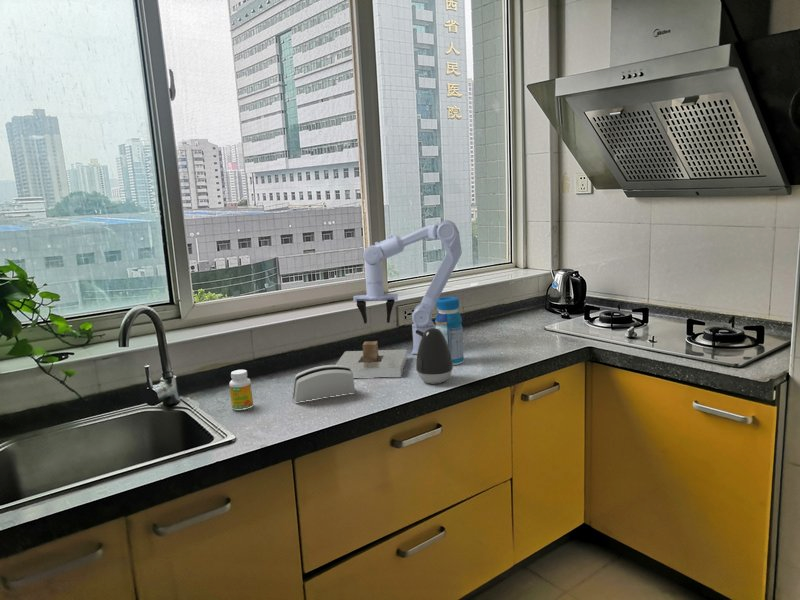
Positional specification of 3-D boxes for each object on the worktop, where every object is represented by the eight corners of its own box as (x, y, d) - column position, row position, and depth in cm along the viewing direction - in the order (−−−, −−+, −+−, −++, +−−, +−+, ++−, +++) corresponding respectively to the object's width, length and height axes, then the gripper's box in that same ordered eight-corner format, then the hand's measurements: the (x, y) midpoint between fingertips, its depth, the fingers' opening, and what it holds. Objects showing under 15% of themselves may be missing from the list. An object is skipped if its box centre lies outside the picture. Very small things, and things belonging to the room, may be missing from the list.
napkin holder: (351, 388, 166) (352, 358, 161) (356, 398, 162) (357, 368, 157) (291, 398, 161) (289, 367, 156) (294, 409, 157) (293, 378, 152)
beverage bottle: (463, 366, 180) (460, 300, 176) (435, 366, 182) (431, 301, 178) (465, 358, 188) (462, 295, 184) (438, 358, 190) (435, 296, 186)
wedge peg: (379, 366, 186) (377, 341, 184) (377, 370, 182) (375, 344, 180) (366, 366, 186) (364, 341, 185) (364, 370, 182) (362, 344, 181)
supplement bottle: (231, 412, 152) (227, 375, 151) (232, 405, 158) (228, 370, 156) (253, 409, 154) (249, 373, 152) (253, 403, 159) (249, 367, 157)
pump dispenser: (427, 374, 175) (424, 323, 172) (459, 377, 169) (457, 325, 167) (409, 384, 166) (406, 331, 163) (443, 388, 161) (440, 333, 158)
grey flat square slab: (407, 358, 192) (406, 349, 192) (400, 377, 173) (400, 367, 172) (345, 360, 194) (345, 351, 194) (332, 379, 175) (331, 369, 174)
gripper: (350, 284, 194) (353, 325, 196) (395, 283, 192) (397, 324, 195) (354, 281, 201) (356, 321, 203) (397, 279, 199) (399, 319, 202)
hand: (377, 322), depth 199 cm, fingers open, 7 cm apart
